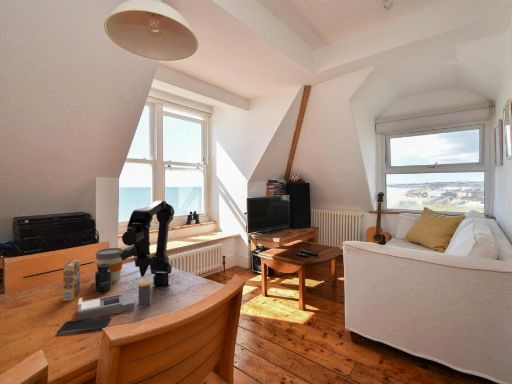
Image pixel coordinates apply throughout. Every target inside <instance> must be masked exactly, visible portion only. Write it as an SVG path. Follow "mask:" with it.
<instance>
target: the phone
mask: <svg viewBox="0 0 512 384" xmlns="http://www.w3.org/2000/svg"><path fill="white" fill-rule="evenodd" d="M111 320H112V317H111V316H100V317H95V318H90V319H82V320H78V319H73V320H67V321H65V322H64V323H63V324H62V326H61V327H60V328H58V330H57V331H56V335H57V336H62V335H63V336H64V335H65V336H66V335H71V334H72V335H73V334H82V333H89V332H100V331H103V330H102V328H105V327H107V328H108V326H109V324H110V323H111Z"/></svg>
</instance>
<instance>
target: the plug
mask: <svg viewBox="0 0 512 384" xmlns="http://www.w3.org/2000/svg"><path fill="white" fill-rule="evenodd" d="M138 305H139V308H142V307H146V306H150V305H151V283H150V281H149V280H144V281H139V282H138Z"/></svg>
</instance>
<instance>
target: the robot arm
mask: <svg viewBox="0 0 512 384" xmlns="http://www.w3.org/2000/svg"><path fill="white" fill-rule="evenodd" d="M174 215H175V209H174V207H173V205H171V204H169V203H167V202H166V200H164V199H163V200H162V199H160V200H159V199H156V200H153V202H152V203H149V205H147V206H145V207H144V208H137V209H133V211H132V213H131V214H130V218H129V220H128V222H127V224H126V226H127V228H126V231H124V233H123V234H122V236H121V241H122V243H123V244H124V245H125V246H127V247H126V248H124V249H123V248H122V249H123V250H121V251H119V254H120V257H121V259H122V261H123V262H124V261H125V260H127V259H129V258H131V257H134V258H133V259H134V266H135V267H136V268H139V269H138V270H139V273H140V277H141V278H143V277H145V275H146V274H147V273H146V272H147V270H148V268H149V269H150V270H149V271H150V275H153V276H152V281H153V283H152V284H153V286H154V288H155V289H159V288H164V287H169V286H170V283H169V275H170V274H172V270H173V269H172V268H173V267H172V264H171V263H170V260H169V259H170V258H169V256H168V254H167V248H168V247H167V246H168V238H169V227H170V224H171V222H172V221H173V219H174ZM154 216H155V217H156V220H157V222H158V231H157V241H156V250H155V254H154V255H153V256H150V255H151V251H150V250H151V249H150V248H151V247H150V246H151V242H150V239H151V238H150V228H151V223H152V221H153V220H154Z"/></svg>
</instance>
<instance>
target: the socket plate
mask: <svg viewBox="0 0 512 384" xmlns="http://www.w3.org/2000/svg"><path fill="white" fill-rule="evenodd" d="M96 299H100V307H96V308H91V309H86V310H82V311H78V310H77V320H82V319H91V318H100V317H105V316H107V315H112V314H117V313H121V312H126V311H130V310H134V309H135V306H136V305H135V299H134V295H133V292H128V293H123V294H121V293H118V294H113V295H107V296H104V297H103V296H102V297H101V296H100V297H97V298H92V299H87V300H86V299H85V300H82V302H86V301H91V300H96ZM135 310H136V309H135Z"/></svg>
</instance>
